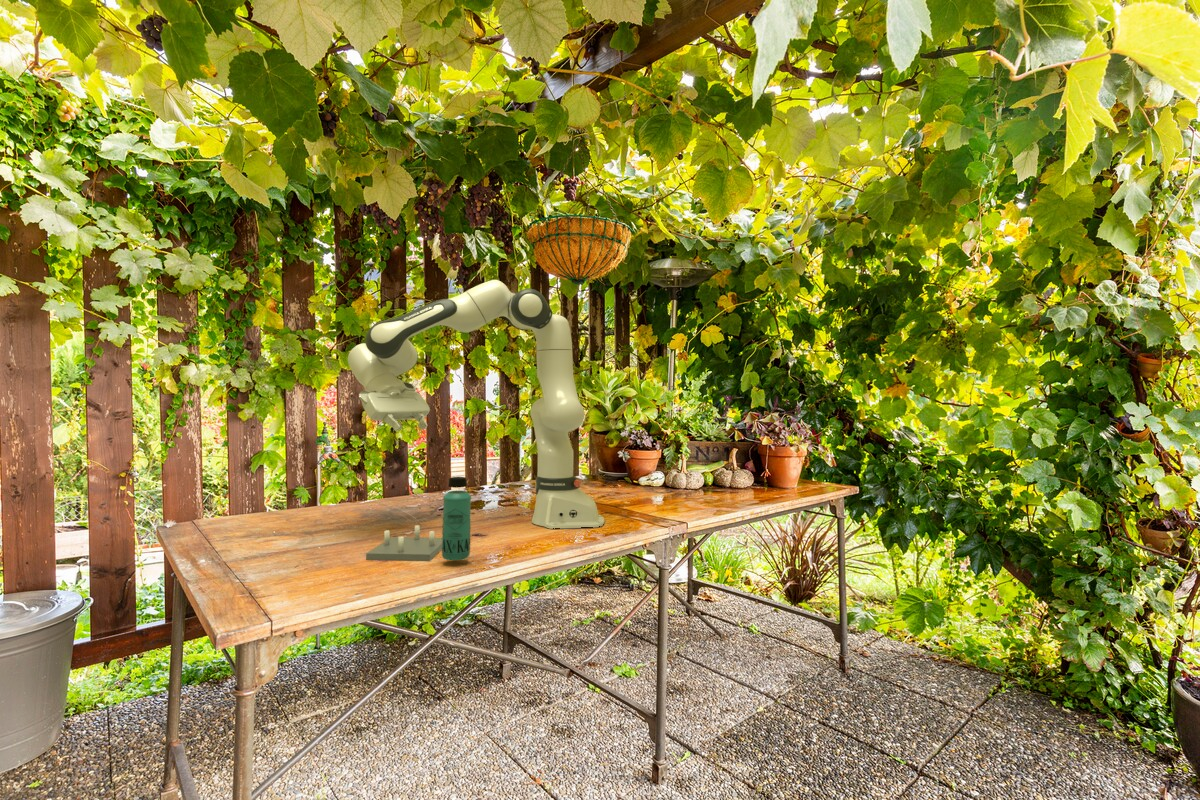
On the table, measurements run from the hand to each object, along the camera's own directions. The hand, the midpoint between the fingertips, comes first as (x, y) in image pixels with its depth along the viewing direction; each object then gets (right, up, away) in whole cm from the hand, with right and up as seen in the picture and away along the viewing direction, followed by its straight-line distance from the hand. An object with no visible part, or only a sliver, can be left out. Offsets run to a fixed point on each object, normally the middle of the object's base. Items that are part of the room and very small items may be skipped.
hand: (412, 428), depth 150 cm
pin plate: (+4, -30, -13) cm, 33 cm away
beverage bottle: (+18, -30, -22) cm, 41 cm away
